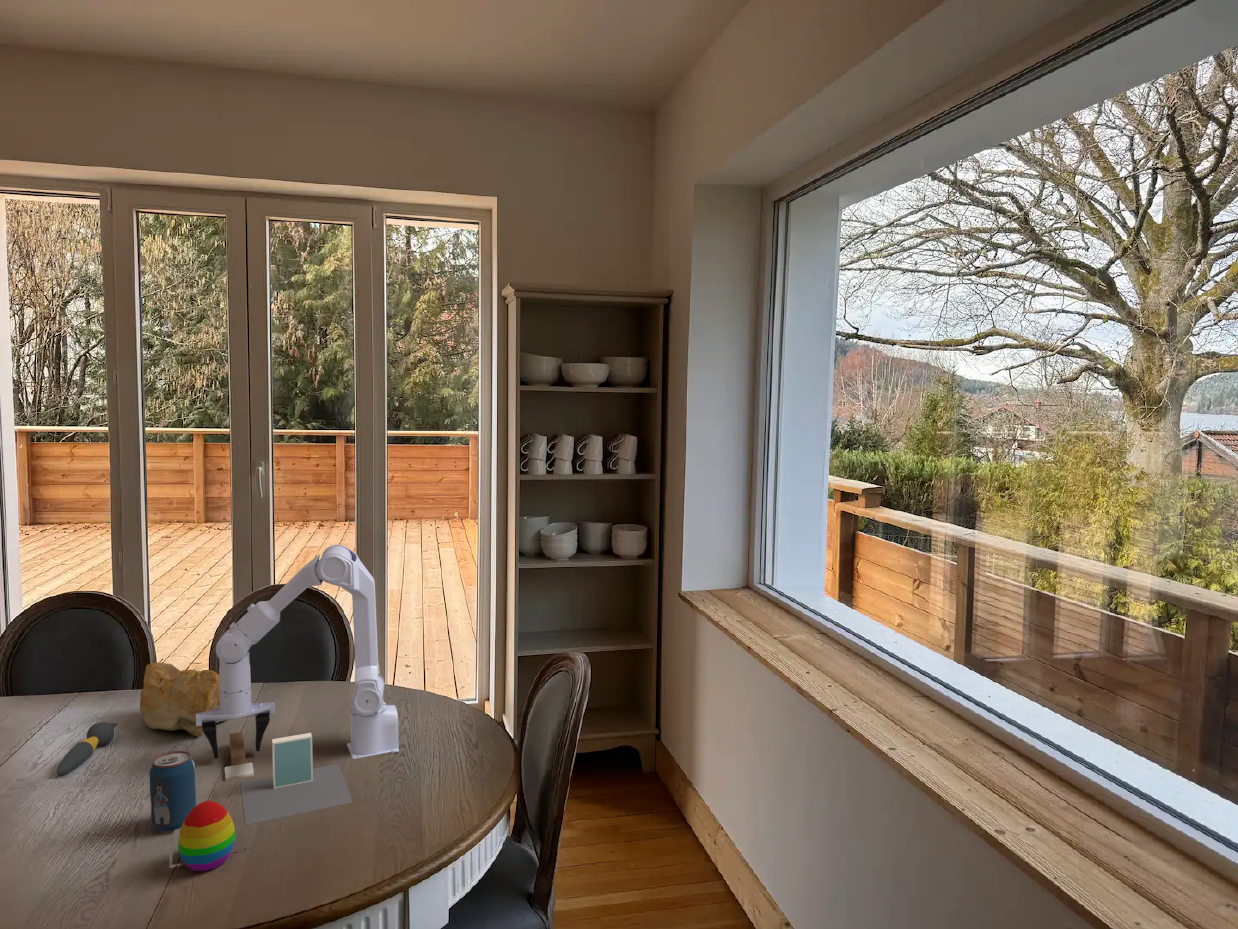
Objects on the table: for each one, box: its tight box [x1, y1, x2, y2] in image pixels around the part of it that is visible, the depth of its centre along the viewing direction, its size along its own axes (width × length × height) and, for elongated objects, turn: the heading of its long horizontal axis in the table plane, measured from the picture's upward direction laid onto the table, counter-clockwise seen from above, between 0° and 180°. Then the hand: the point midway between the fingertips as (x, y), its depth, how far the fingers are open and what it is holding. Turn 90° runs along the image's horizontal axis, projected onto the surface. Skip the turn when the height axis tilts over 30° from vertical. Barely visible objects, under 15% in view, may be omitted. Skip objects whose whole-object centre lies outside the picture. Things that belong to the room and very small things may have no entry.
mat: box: [240, 763, 354, 826], centre depth 154 cm, size 18×17×1 cm
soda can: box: [148, 750, 197, 834], centre depth 142 cm, size 7×7×12 cm
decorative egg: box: [177, 800, 236, 872], centre depth 132 cm, size 8×8×10 cm
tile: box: [271, 732, 314, 789], centre depth 157 cm, size 7×2×9 cm, turn 118°
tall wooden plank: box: [224, 731, 255, 781], centre depth 166 cm, size 5×17×3 cm, turn 27°
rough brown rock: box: [139, 661, 220, 737], centre depth 184 cm, size 23×16×15 cm
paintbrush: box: [56, 721, 118, 776], centre depth 168 cm, size 20×5×5 cm, turn 10°
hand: (237, 753), depth 166 cm, fingers open, 7 cm apart
